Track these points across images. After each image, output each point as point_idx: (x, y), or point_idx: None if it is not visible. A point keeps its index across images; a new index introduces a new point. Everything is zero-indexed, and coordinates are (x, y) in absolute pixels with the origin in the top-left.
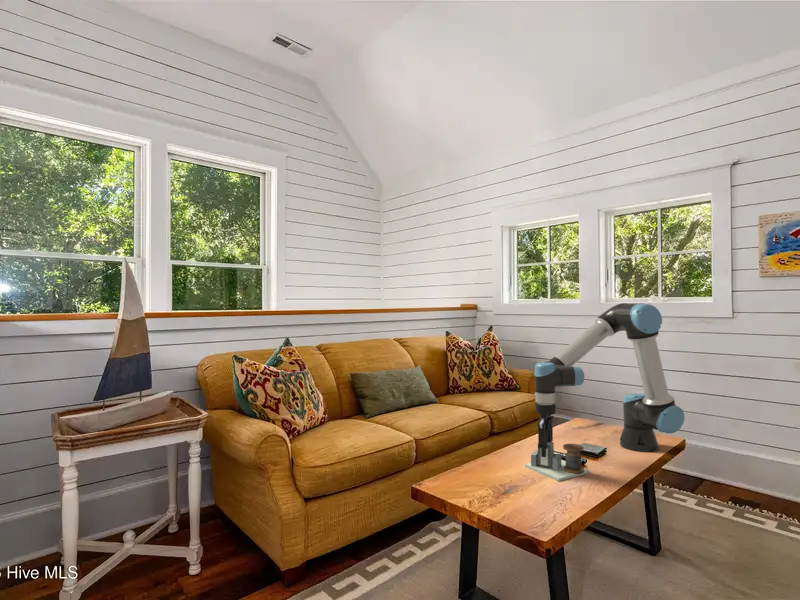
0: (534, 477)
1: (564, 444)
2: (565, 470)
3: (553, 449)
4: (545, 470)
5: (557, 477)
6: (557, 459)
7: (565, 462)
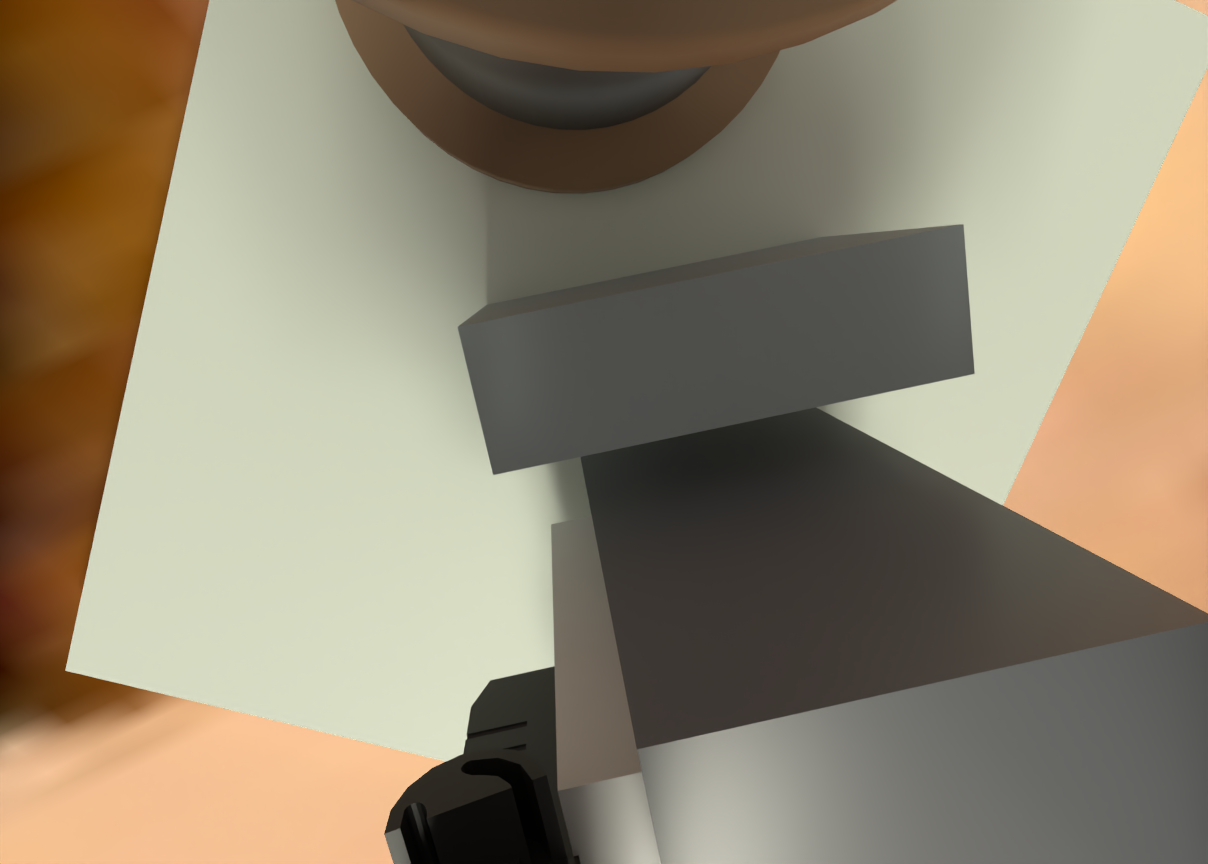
0: (1169, 480)
1: (586, 21)
2: (764, 75)
3: (631, 579)
4: (941, 434)
5: (1175, 71)
6: (949, 225)
7: (217, 332)
